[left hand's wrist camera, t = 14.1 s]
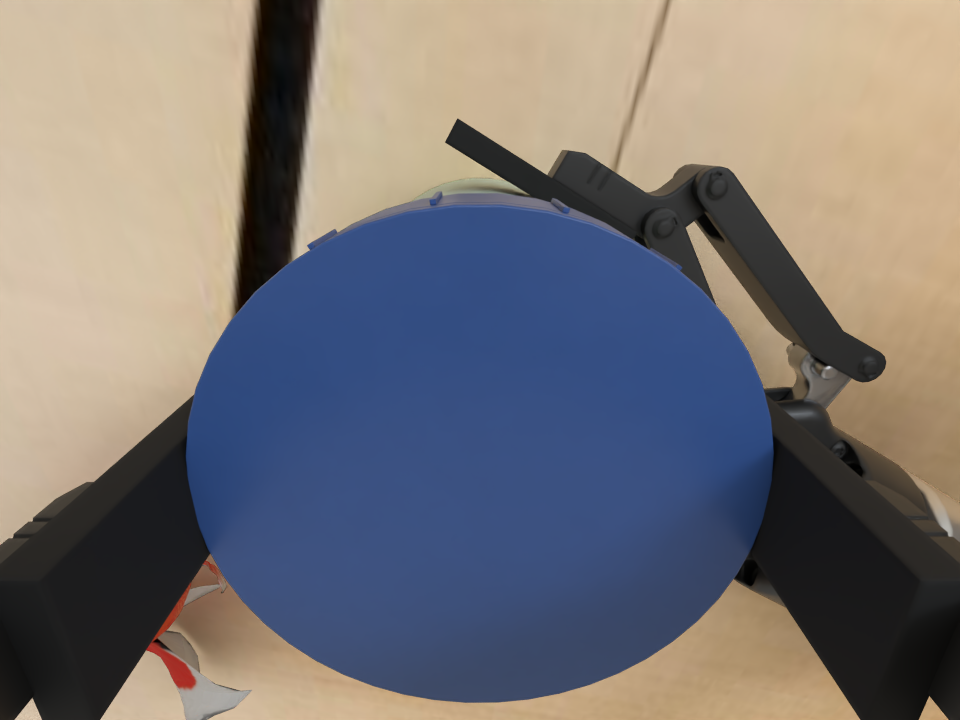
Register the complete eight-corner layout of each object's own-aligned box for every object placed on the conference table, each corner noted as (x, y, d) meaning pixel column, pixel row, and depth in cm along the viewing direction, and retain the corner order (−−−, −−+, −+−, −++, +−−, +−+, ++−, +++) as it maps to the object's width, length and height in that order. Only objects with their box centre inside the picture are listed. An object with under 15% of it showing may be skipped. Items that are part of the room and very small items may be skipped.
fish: (321, 551, 25) (126, 792, 18) (306, 641, 36) (183, 811, 29) (144, 428, 27) (-97, 608, 20) (183, 552, 38) (37, 694, 31)
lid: (335, 83, 10) (297, 66, 8) (829, 339, 12) (905, 380, 10) (179, 535, 13) (125, 605, 11) (571, 675, 15) (585, 756, 13)
